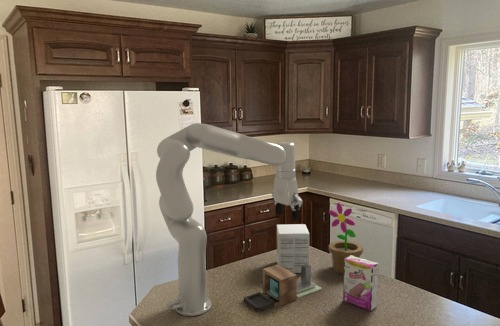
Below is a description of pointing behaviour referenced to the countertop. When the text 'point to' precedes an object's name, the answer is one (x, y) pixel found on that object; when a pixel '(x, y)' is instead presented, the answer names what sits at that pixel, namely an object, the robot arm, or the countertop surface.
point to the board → (308, 291)
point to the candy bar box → (360, 282)
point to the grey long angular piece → (301, 284)
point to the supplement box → (292, 246)
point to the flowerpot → (343, 248)
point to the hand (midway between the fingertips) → (287, 217)
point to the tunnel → (281, 283)
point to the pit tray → (258, 301)
